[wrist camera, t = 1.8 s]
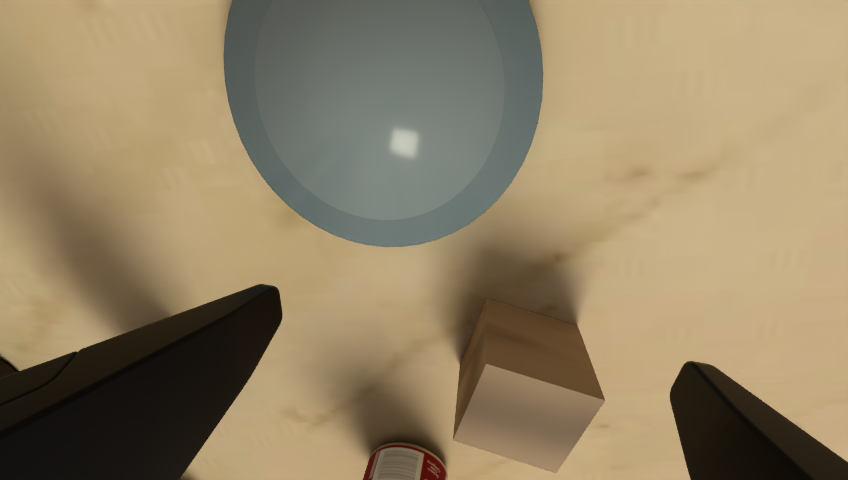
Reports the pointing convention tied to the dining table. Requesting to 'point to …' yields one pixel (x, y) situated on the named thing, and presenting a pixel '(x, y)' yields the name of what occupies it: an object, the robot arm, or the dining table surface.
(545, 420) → the walnut block
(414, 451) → the soda can
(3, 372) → the bottle
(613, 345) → the dining table surface
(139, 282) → the dining table surface
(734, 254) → the dining table surface
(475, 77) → the dish
